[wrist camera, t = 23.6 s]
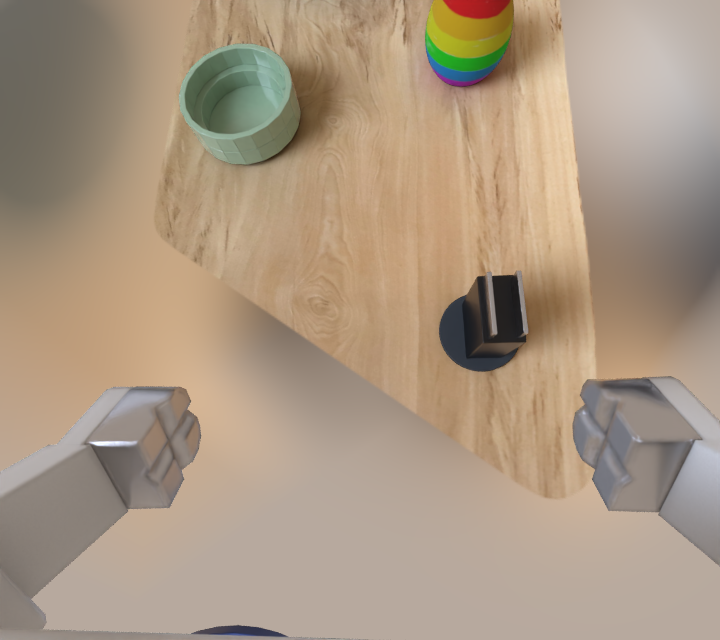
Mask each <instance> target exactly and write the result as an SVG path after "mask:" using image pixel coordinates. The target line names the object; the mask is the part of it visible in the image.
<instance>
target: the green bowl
mask: <svg viewBox="0 0 720 640" xmlns="http://www.w3.org/2000/svg"><path fill="white" fill-rule="evenodd" d="M179 102H180V110H181V113H182V114H183V116H184V118H185V120H186V122H187V123H188V125H189V126H190V128H191V129H192V131H193V132H194V134H195V135H196V136H197V138H198V139H199V141H200V142H201V144H202V145H203V147H204V148H205V149H206V150H207V151H208V152H209V153H210V154H212V155H213V156H214V157H215V158H217V159H219V160H222V161H225V162H228V163H230V164H246V165H247V164H252V163H256V162H260V161H264V160H266V159H268V158H270V157H272V156H273V155H275V154H277V153H279V152H280V151H281V150H282V149H283V148H284V147H285V146H286V145H287V144H288V143H289V142H290V141H291V140H292V138H293V136H294V134H295V133H296V131H297V129H298V126H299V121H300V115H301V111H300V106H299V101H298V97H297V94H296V90H295V87H294V84H293V80H292V77H291V74H290V70H289V68H288V67H287V65H286V64H285V62H284V61H283V59H282V58H281V57H280V56H279V55H277V54H276V53H274V52H273V51H272V50H270V49H268V48H266V47H262V46H259V45H256V44H233V45H229V46H225V47H221V48H218V49H216V50H214V51H212V52H210V53H208V54H207V55H205V56H203V57H202V58H201V59H200V60H199V61H198V62H197V63H195V64H194V65H193V66H192V68H191V69H190V70H189V72H188V73H187V75H186V77H185V78H184V80H183V82H182V86H181V90H180V94H179Z"/></svg>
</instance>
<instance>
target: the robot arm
mask: <svg viewBox="0 0 720 640" xmlns="http://www.w3.org/2000/svg"><path fill="white" fill-rule="evenodd" d="M580 396H581V398H582V400H583V401H584V403H585V405H584V406H582V407H581V408H580V409H579V410H578V411H576V412H575V416H574V421H573V439H574V442H575V445H576V449H577V451H578V453H579V455H580V457H581V459H582V460H583V461H584V462H586V463H587V464H588V465H590V466H591V467H593V468H594V469H595V472H594V475H593V478H592V480H593V482H594V484H595V486H596V488H597V490H598V491H599V493H600V495H601V497H602V499H603V501H604V503H605V505H606V506H607V508H608V510H609V511H632V512H635V511H636V512H659V516H661V517H662V518H663V519H664V520H665V521H666V522H668V523H669V524H670V525H671V526H672V527H674V528H675V529H676V530H677V531H678V532H680V533H681V534H682V535H683V536H684V537H686V538H687V539H688V540H689V541H690V542H691V543H693V544H694V545H695V546H696V547H697V548H699V549H700V550H701V551H702V552H703V553H705V554H706V555H707V556H708V557H709V558H711V559H712V560H713V561H714V562H715V563H717V564H718V565H719V566H720V421H719V420H718V419H717V418H716V417H715V416H714V415H713V414H712V413H711V412H710V411H709V410H708V409H707V408H706V407H705V406H704V405H703V404H702V403H701V402H700V401H699V400H698V399H697V398H696V397H695V395H693V394H692V393H691V391H689V390H688V389H687V388H686V387H685V386H684V384H683V383H681V381H679V380H678V379H676V378H673V377H671V376H668V377H643V378H632V379H631V378H629V379H588V380H587V381H586V382H585V383H584V385H583V387H582V390H581V394H580ZM190 403H191V400H190V397H189V395H188V393H187V390H186V389H184V388H182V387H113V388H110V389H107V390H106V391H105V392H104V393H103V394H102V395H101V396H100V397H99V398H98V399H97V401H96V402H95V403H94V404H93V405H92V406H91V407H90V408H89V409H88V411H87V412H86V413H85V414H84V415H83V416H82V417H81V418H80V419H79V420H78V421H77V423H76V424H75V425H74V426H73V427H72V428H71V429H70V430H69V431H68V432H67V433H66V435H65V436H64V437H63V438H62V439H61V440H60V441H59V443H57V445H48V446H46V447H44V448H42V449H40V450H39V451H37V452H35V453H33V454H32V455H30V456H28V457H26V458H24V459H22V460H21V461H19V462H17V463H15V464H14V465H12V466H10V467H8V468H6V469H4V470H3V471H1V472H0V640H364V639H335V638H302V637H270V636H238V635H205V634H172V633H140V632H138V633H137V632H108V631H76V630H73V631H72V630H43V627H44V626H45V624H46V616H45V614H44V613H43V612H42V611H41V609H40V608H39V607H38V606H37V605H36V604H35V603H34V602H33V601H32V600H31V598H33V597H34V596H35V595H36V594H37V593H38V592H39V591H40V590H41V589H43V587H45V586H46V585H47V584H48V583H49V582H50V581H51V580H53V579H54V578H55V577H56V576H57V575H58V574H59V573H60V572H61V571H63V570H64V568H66V567H67V566H68V565H69V564H70V563H71V562H72V561H74V560H75V559H76V558H77V557H78V556H79V555H80V554H81V553H82V552H84V551H85V550H86V549H87V548H88V547H89V546H90V545H91V544H92V543H94V542H95V541H96V540H97V539H98V538H99V537H100V536H101V535H102V534H104V533H105V532H106V531H107V530H108V529H109V528H110V527H111V526H112V525H114V523H116V522H117V521H118V520H119V519H120V518H121V517H122V516H124V515H125V514H126V513H127V512H128V509H142V508H143V509H146V508H169V507H170V506H171V504H172V502H173V500H174V498H175V496H176V494H177V492H178V490H179V488H180V486H181V484H182V482H183V480H184V477H183V474H182V469H184V468H185V467H186V466H187V465H189V464H190V463H191V462H193V460H194V458H195V456H196V454H197V452H198V449H199V444H200V439H201V432H200V424H199V421H198V419H197V417H196V416H195V415H194V414H192V413H191V412H190V411H189V410H187V409H188V406H189V405H190ZM365 640H366V639H365Z"/></svg>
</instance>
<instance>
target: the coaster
mask: <svg viewBox="0 0 720 640" xmlns="http://www.w3.org/2000/svg"><path fill="white" fill-rule="evenodd" d="M466 296H467V295H465V296H462V297H460V298H458V299H457V300H455V301H454V302H453V303H451V304H450V305H449V307H448V308H447V309H446V311H445V312H444V314H443V316H442V319H441V322H440V327H439V335H440V340H441V344H442V346H443V348H444V350H445V352H446V353H447V355H448V356H449V357H450V358H451V359H452V360H453V361H454V362H455V363H457V364H458V365H460V366H462V367H464V368H466V369H469V370H473V371H490V370H494V369H497V368H499V367H501V366H503V365H504V364H506V363H507V362H508V361H510V360H511V359H512V357H513V356H514V355H515V353H516V352H517V350H518V347H517V348H516V349H514V350H512V351H511V352H509V353H508V354H506V355H504V356H503V357H501V358H468V359H467V358H466V349H465V336H464V323H463V310H462V303H463V301H464V300H465V298H466Z"/></svg>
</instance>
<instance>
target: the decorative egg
mask: <svg viewBox="0 0 720 640" xmlns="http://www.w3.org/2000/svg"><path fill="white" fill-rule="evenodd" d="M513 17H514V5H513V0H434V1H433V3H432V6H431V9H430V12H429V15H428V19H427V25H426V34H425V43H426V52H427V56H428V60H429V63H430V65H431V67H432V69H433V70H434V72H435V73H436V74H437V76H438V77H439V78H440V79H441V80H443V81H444V82H446V83H448V84H450V85H453V86H469V85H472V84H475V83H477V82H479V81H481V80H482V79H484V78H485V77H486V76H488V75H489V74H490V73H491V72H492V71H493V70H494V69H495V67H496V66H497V65H498V63H499V62H500V60H501V59H502V57H503V55H504V53H505V51H506V49H507V46H508V43H509V40H510V37H511V32H512V27H513Z"/></svg>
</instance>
